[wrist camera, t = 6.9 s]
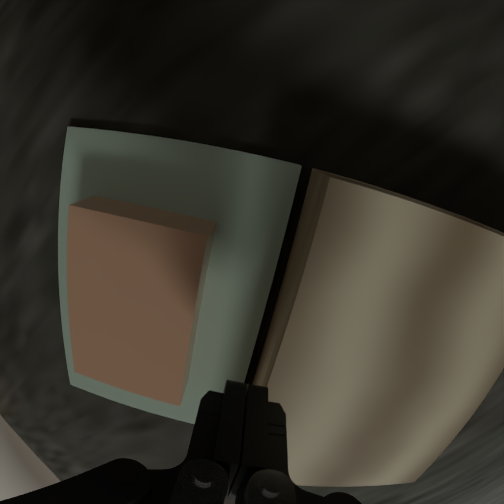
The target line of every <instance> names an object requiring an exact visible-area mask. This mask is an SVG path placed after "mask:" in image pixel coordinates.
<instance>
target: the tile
mask: <svg viewBox="0 0 504 504" xmlns="http://www.w3.org/2000/svg"><path fill="white" fill-rule="evenodd" d="M216 224H217V222H214V221H210V220H205V219H201V218H196V217H192V216H187V215H183V214H178V213H174V212H169V211H164V210H160V209H155V208H151V207H146V206H141V205H137V204H132V203H127V202H122V201H118V200H113V199H108V198H103V197H98V196H91V197H89V198H86V199H83V200H81V201H78V202H75V203H72V204H70V205H69V210H68V231H67V291H68V311H69V325H70V337H71V347H72V355H73V363H74V371H75V372H77V373H79V374H82V375H84V376H87V377H89V378H92V379H95V380H97V381H100V382H103V383H106V384H108V385H111V386H114V387H117V388H120V389H123V390H126V391H129V392H132V393H135V394H139V395H142V396H145V397H148V398H152V399H155V400H159V401H162V402H166V403H169V404H173V405H177V406H180V405H181V402H182V399H183V396H184V392H185V389H186V386H187V383H188V380H189V374H190V368H191V361H192V355H193V349H194V343H195V337H196V331H197V325H198V319H199V314H200V308H201V302H202V297H203V291H204V286H205V281H206V275H207V270H208V265H209V259H210V254H211V249H212V244H213V239H214V234H215V229H216Z"/></svg>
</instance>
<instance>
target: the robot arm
mask: <svg viewBox="0 0 504 504" xmlns="http://www.w3.org/2000/svg"><path fill="white" fill-rule="evenodd" d="M286 436H287V428H286V413H285V412H284V410H283V408H282V406H281V404H280V403H276V402H269V401H268V387H264V386H258V385H253V384H246V383H242V382H237V381H232V380H226V383H225V387H224V391H223V393H220V392H216V391H211V390H209V391H208V392H207V393H206V394H205V395H204V396H203V397H202V398H201V400H200V404H199V408H198V412H197V416H196V421H195V425H194V429H193V433H192V437H191V441H190V445H189V449H188V453H187V456H186V458H185V460H184V461H183V462H182V463H181V464H180V465H178V466H176V467H174V468H171V469H163V470H149V469H147V468H146V467H145V466H144V465H142V464H141V463H139V462H137V461H135V460H132V459H127V458H120V459H115V460H113V461H110V462H108V463H106V464H103V465H101V466H99V467H96V468H94V469H92V470H89V471H87V472H84V473H82V474H79V475H77V476H74V477H72V478H69V479H66V480H64V481H61V482H59V483H56V484H53V485H50V486H47V487H44V488H41V489H38V490H35V491H32V492H29V493H26V494H23V495H20V496H17V497H13V498H10V499H6V500H3V501H0V504H224V500H225V497H226V496H227V493H228V491H229V493H228V497H230V498H236V499H235V504H361V503H360V502H359V501H358V500H357V499H356V498H354V497H353V496H351V495H349V494H347V493H343V492H335V493H331V494H328V495H327V496H325V497H323V496H319V495H316V494H313V493H310V492H307V491H304V490H302V489H301V488H299V487H298V486H297V485H296V484H295V483H294V482H293V481H292V480H291V478H290V476H289V472H288V450H287V437H286Z"/></svg>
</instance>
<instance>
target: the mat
mask: <svg viewBox="0 0 504 504" xmlns="http://www.w3.org/2000/svg"><path fill="white" fill-rule="evenodd" d="M301 167H302V166H301V165H298V164H294V163H290V162H286V161H282V160H278V159H273V158H269V157H264V156H260V155H255V154H251V153H246V152H241V151H237V150H232V149H227V148H222V147H216V146H211V145H206V144H200V143H194V142H189V141H183V140H177V139H170V138H164V137H157V136H150V135H143V134H136V133H128V132H120V131H111V130H102V129H92V128H81V127H67V134H66V141H65V148H64V156H63V165H62V175H61V187H60V201H59V223H58V271H59V293H60V308H61V320H62V330H63V338H64V346H65V354H66V361H67V367H68V373H69V379H70V384H71V385H73V386H76V387H78V388H81V389H83V390H86V391H88V392H91V393H94V394H96V395H99V396H102V397H105V398H107V399H110V400H113V401H116V402H119V403H122V404H125V405H128V406H131V407H134V408H137V409H141V410H144V411H147V412H151V413H154V414H158V415H161V416H165V417H169V418H172V419H176V420H180V421H184V422H188V423H192V424H195V421H196V416H197V412H198V408H199V404H200V400H201V398H202V397H203V396H204V395H205V394H206V393H207V392H208V391H209V390H211V391H216V392H220V393H223V391H224V387H225V383H226V380H232V381H237V382H242V383H244V381H245V378H246V374H247V371H248V367H249V364H250V360H251V357H252V353H253V350H254V346H255V343H256V339H257V336H258V332H259V328H260V325H261V321H262V318H263V314H264V310H265V307H266V303H267V299H268V296H269V292H270V288H271V284H272V281H273V277H274V273H275V269H276V266H277V262H278V258H279V254H280V250H281V247H282V243H283V239H284V235H285V231H286V227H287V223H288V219H289V215H290V211H291V207H292V203H293V199H294V195H295V191H296V187H297V183H298V179H299V175H300V171H301ZM91 196H98V197H103V198H108V199H113V200H118V201H122V202H127V203H132V204H137V205H141V206H146V207H151V208H155V209H160V210H164V211H169V212H174V213H178V214H183V215H187V216H192V217H196V218H201V219H205V220H210V221H214V222H217V224H216V229H215V234H214V239H213V244H212V249H211V254H210V259H209V265H208V270H207V275H206V281H205V286H204V291H203V297H202V302H201V308H200V314H199V319H198V325H197V331H196V337H195V343H194V349H193V355H192V361H191V368H190V374H189V380H188V383H187V386H186V389H185V392H184V396H183V399H182V402H181V405H180V406H177V405H173V404H169V403H166V402H162V401H159V400H155V399H152V398H148V397H145V396H142V395H139V394H135V393H132V392H129V391H126V390H123V389H120V388H117V387H114V386H111V385H108V384H106V383H103V382H100V381H97V380H95V379H92V378H89V377H87V376H84V375H82V374H79V373H77V372H75V371H74V363H73V355H72V347H71V337H70V325H69V311H68V291H67V231H68V210H69V205H70V204H72V203H75V202H78V201H81V200H83V199H86V198H89V197H91Z"/></svg>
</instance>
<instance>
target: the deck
mask: <svg viewBox="0 0 504 504" xmlns="http://www.w3.org/2000/svg"><path fill="white" fill-rule="evenodd" d="M503 368H504V233H503V232H500V231H498V230H496V229H493V228H491V227H489V226H486V225H484V224H481V223H479V222H476V221H474V220H471V219H469V218H466V217H464V216H461V215H458V214H456V213H453V212H450V211H448V210H445V209H442V208H440V207H437V206H434V205H431V204H428V203H426V202H423V201H420V200H417V199H414V198H411V197H408V196H405V195H402V194H399V193H396V192H393V191H390V190H387V189H384V188H380V187H377V186H374V185H371V184H367V183H364V182H361V181H357V180H354V179H350V178H347V177H343V176H340V175H336V174H333V173H329V172H325V171H321V170H318V169H314V168H312V171H311V175H310V179H309V183H308V187H307V191H306V195H305V199H304V203H303V207H302V210H301V214H300V218H299V222H298V226H297V230H296V233H295V237H294V241H293V245H292V248H291V252H290V256H289V259H288V263H287V267H286V270H285V274H284V277H283V281H282V285H281V288H280V292H279V295H278V299H277V302H276V306H275V309H274V313H273V316H272V320H271V323H270V326H269V330H268V333H267V337H266V340H265V343H264V347H263V350H262V353H261V357H260V360H259V363H258V367H257V370H256V373H255V376H254V380H253V383H252V384H253V385H258V386H264V387H268V401H269V402H276V403H280V404H281V406H282V408H283V410H284V412H285V413H286V428H287V436H286V437H287V450H288V472H289V476H290V478H291V480H292V481H293V482H294V483H295V484H296V485H303V486H337V487H342V486H375V485H390V484H401V483H411V482H415V481H416V480H417V479H418V478H419V477H420V476H421V475H422V474H423V472H424V471H425V470H426V469H427V468H428V467H429V466H430V465H431V464H432V463H433V462H434V461H435V460H436V459H437V457H438V456H439V455H440V454H441V453H442V452H443V451H444V450H445V448H446V447H447V446H448V445H449V444H450V442H451V441H452V440H453V439H454V438H455V436H456V435H457V434H458V433H459V431H460V430H461V429H462V428H463V426H464V425H465V424H466V423H467V421H468V420H469V419H470V417H471V416H472V415H473V413H474V412H475V411H476V409H477V408H478V406H479V405H480V404H481V402H482V401H483V399H484V398H485V396H486V395H487V393H488V392H489V390H490V389H491V387H492V386H493V384H494V383H495V381H496V380H497V378H498V376H499V375H500V373H501V372H502V370H503Z"/></svg>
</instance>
